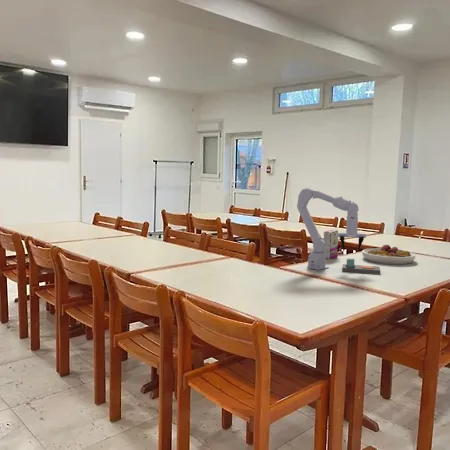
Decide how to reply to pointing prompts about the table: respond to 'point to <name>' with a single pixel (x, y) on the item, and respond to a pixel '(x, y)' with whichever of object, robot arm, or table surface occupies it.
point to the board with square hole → (360, 269)
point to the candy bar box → (331, 243)
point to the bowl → (388, 255)
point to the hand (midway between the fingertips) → (351, 250)
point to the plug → (350, 262)
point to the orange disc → (367, 267)
